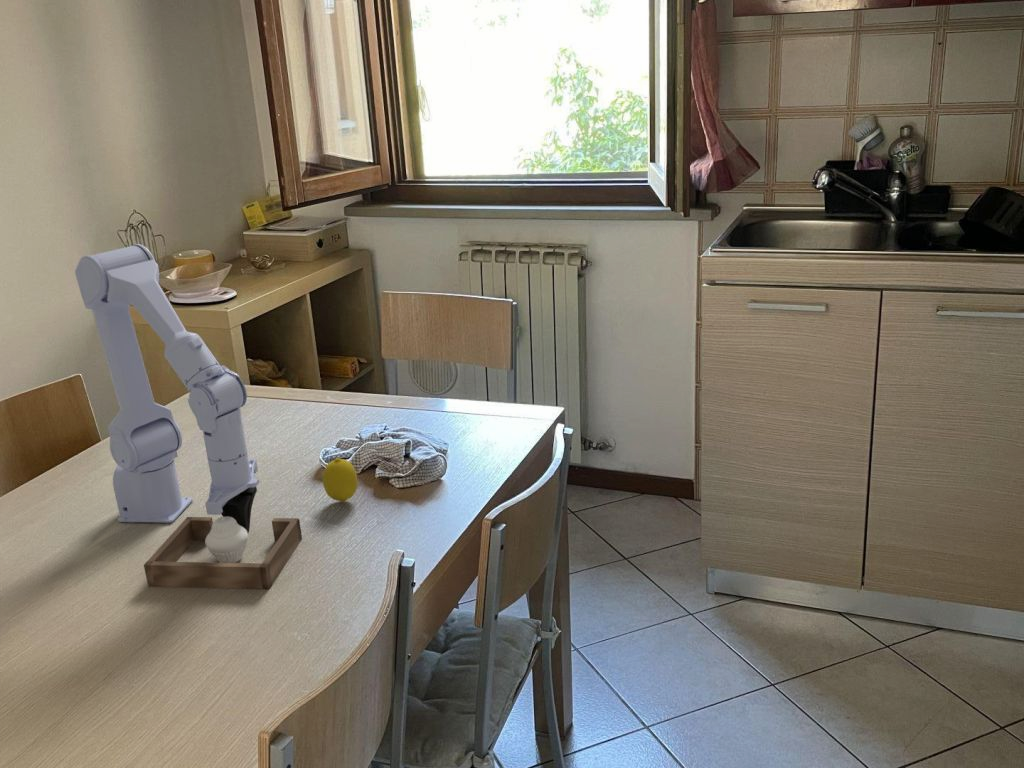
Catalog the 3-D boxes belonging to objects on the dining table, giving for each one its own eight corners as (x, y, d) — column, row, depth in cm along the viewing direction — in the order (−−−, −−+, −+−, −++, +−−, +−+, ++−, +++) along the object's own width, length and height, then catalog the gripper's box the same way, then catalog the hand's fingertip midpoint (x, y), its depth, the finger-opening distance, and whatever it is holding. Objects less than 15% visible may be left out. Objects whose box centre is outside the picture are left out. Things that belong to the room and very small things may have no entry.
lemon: (353, 511, 151) (347, 466, 149) (321, 509, 152) (314, 464, 150) (364, 495, 156) (359, 451, 154) (333, 493, 158) (328, 450, 155)
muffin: (230, 573, 135) (222, 531, 133) (199, 564, 138) (191, 522, 135) (260, 553, 140) (253, 512, 138) (230, 545, 143) (223, 504, 140)
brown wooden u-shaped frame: (148, 586, 133) (143, 564, 132) (191, 536, 146) (187, 516, 145) (269, 589, 131) (265, 567, 129) (302, 538, 144) (299, 518, 142)
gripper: (233, 475, 131) (247, 559, 136) (270, 433, 144) (282, 511, 149) (186, 475, 132) (201, 558, 137) (227, 433, 145) (240, 511, 150)
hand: (241, 534), depth 143 cm, fingers closed
